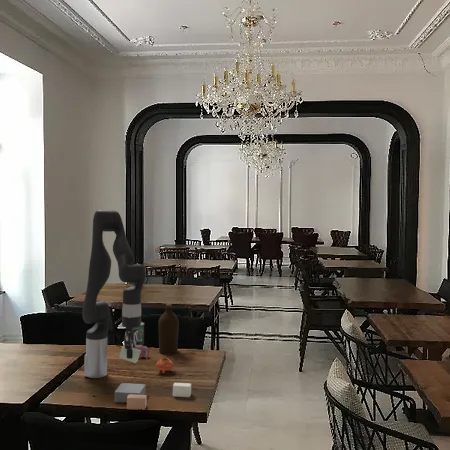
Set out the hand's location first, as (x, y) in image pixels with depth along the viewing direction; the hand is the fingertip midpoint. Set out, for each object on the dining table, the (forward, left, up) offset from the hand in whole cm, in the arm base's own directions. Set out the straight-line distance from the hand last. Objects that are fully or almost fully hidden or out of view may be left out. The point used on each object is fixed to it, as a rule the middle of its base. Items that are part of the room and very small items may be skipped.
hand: (130, 356), depth 213 cm
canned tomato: (-17, +76, -17) cm, 80 cm away
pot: (+7, +33, -17) cm, 38 cm away
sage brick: (-1, 0, -1) cm, 2 cm away
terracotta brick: (+5, -9, -17) cm, 20 cm away
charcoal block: (0, 0, -17) cm, 17 cm away
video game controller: (-10, +52, -17) cm, 56 cm away
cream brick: (+20, +6, -17) cm, 27 cm away
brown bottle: (+3, +64, -17) cm, 66 cm away
